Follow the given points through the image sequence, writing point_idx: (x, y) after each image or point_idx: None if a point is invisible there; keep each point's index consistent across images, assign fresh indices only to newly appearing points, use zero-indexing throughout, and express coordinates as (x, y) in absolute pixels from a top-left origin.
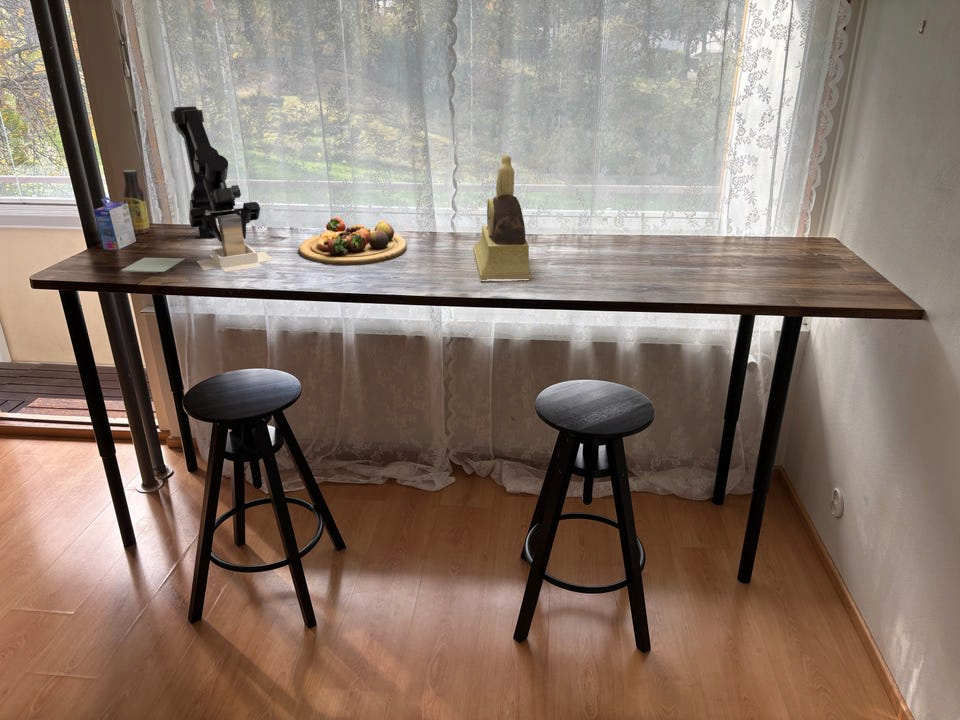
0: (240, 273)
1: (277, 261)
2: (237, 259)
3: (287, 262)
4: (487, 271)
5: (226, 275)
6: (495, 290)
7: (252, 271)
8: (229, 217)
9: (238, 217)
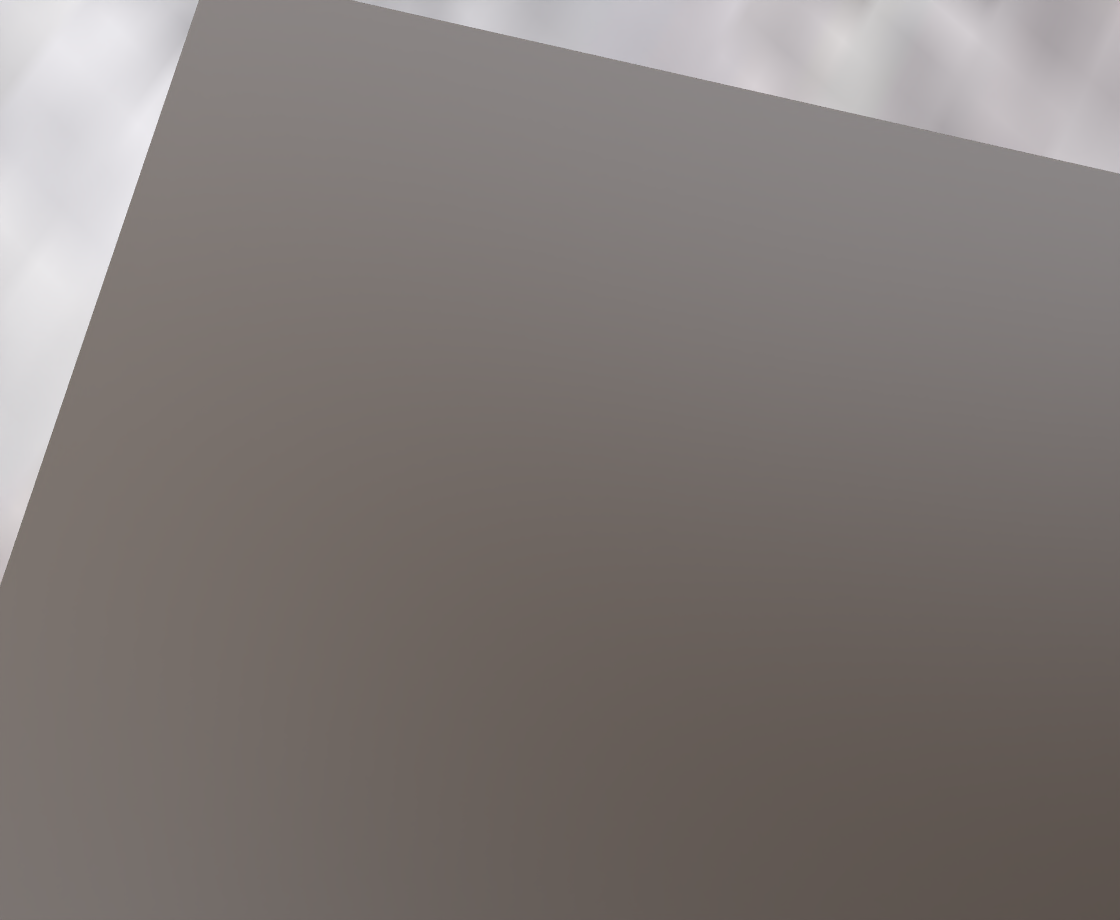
0: (842, 48)
1: (124, 199)
2: None
3: (54, 51)
4: None
5: (1038, 99)
6: None
7: (668, 15)
8: (946, 622)
9: (361, 61)
